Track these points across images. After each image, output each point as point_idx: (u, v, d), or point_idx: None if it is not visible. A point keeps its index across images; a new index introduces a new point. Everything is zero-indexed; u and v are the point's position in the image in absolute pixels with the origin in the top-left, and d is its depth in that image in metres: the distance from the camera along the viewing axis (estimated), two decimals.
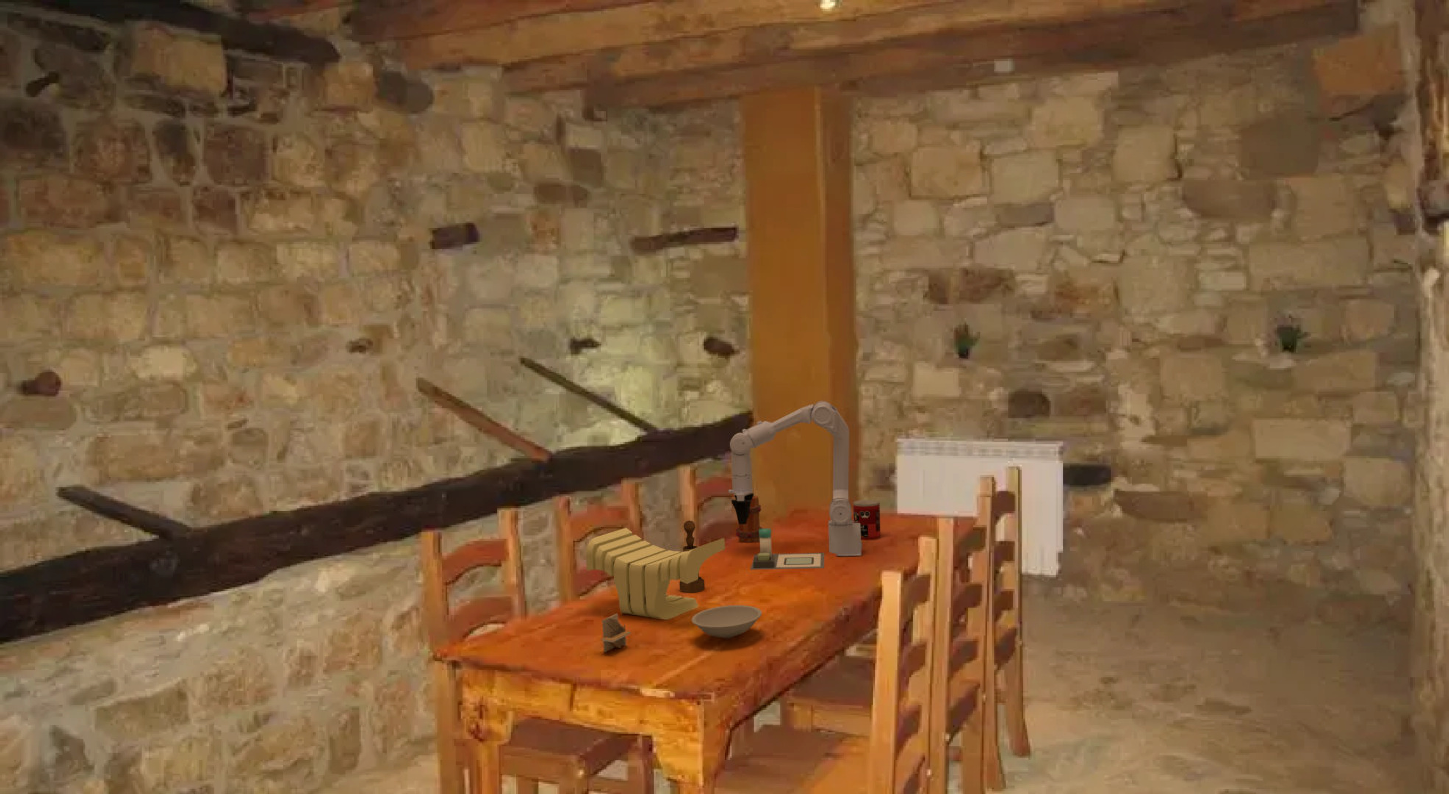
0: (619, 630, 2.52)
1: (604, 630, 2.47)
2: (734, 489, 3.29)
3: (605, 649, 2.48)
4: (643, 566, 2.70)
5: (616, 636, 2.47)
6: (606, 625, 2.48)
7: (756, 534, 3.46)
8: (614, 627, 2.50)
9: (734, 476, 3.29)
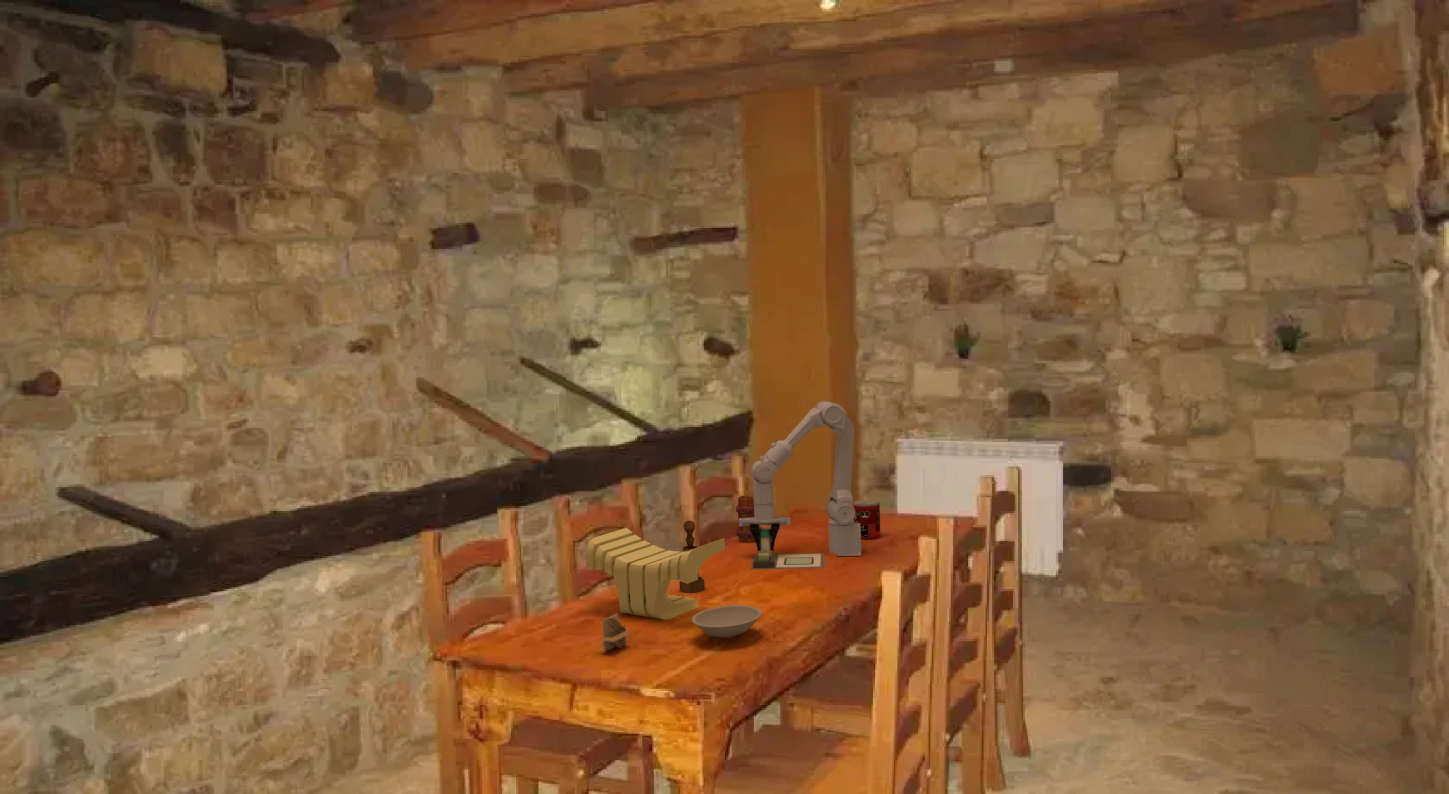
0: (619, 630, 2.52)
1: (605, 630, 2.47)
2: None
3: (605, 649, 2.48)
4: (643, 566, 2.70)
5: (616, 636, 2.47)
6: (606, 625, 2.48)
7: None
8: (614, 627, 2.51)
9: None
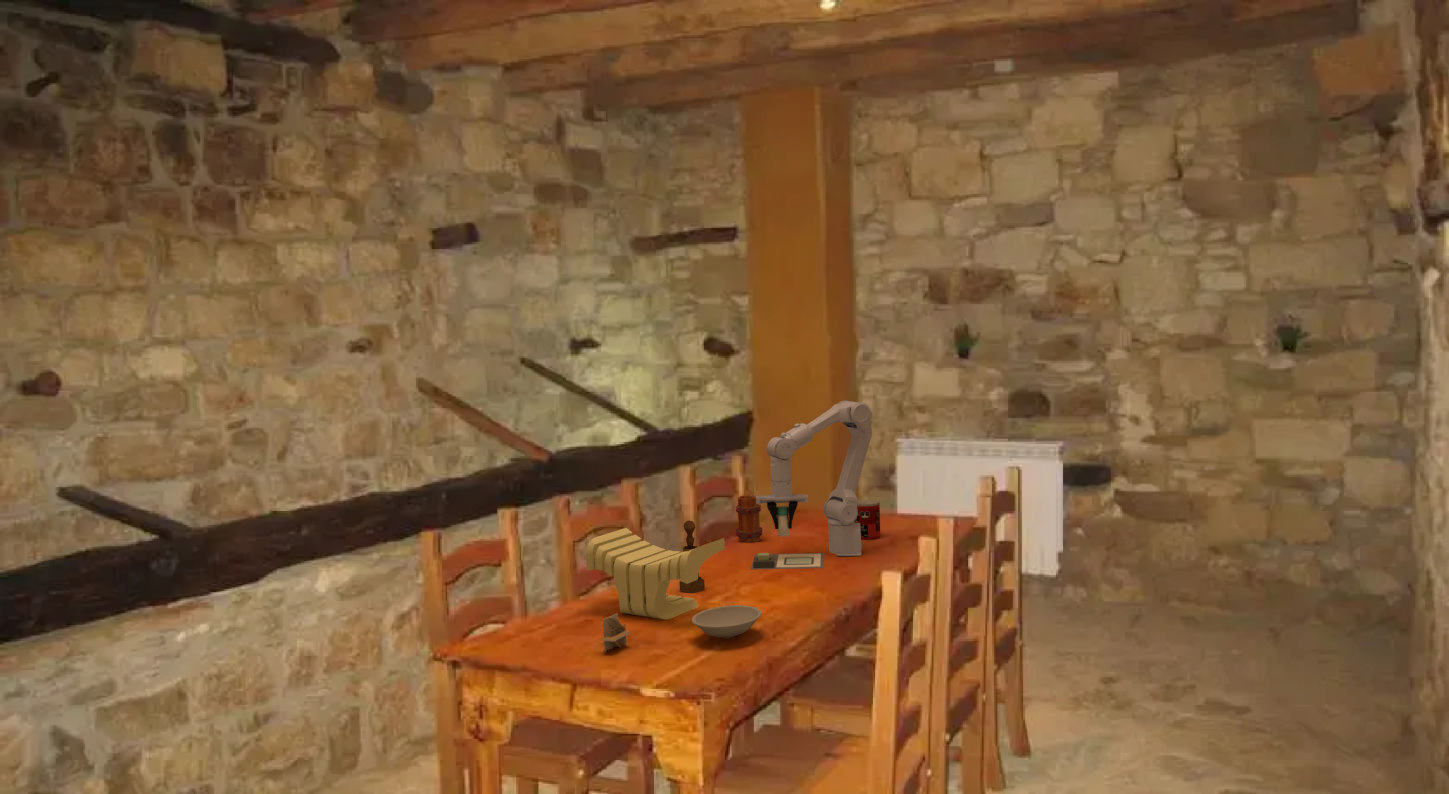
0: (619, 629, 2.52)
1: (605, 630, 2.48)
2: None
3: (606, 649, 2.48)
4: (643, 566, 2.70)
5: (617, 635, 2.48)
6: (607, 625, 2.48)
7: (756, 534, 3.46)
8: (614, 627, 2.51)
9: None
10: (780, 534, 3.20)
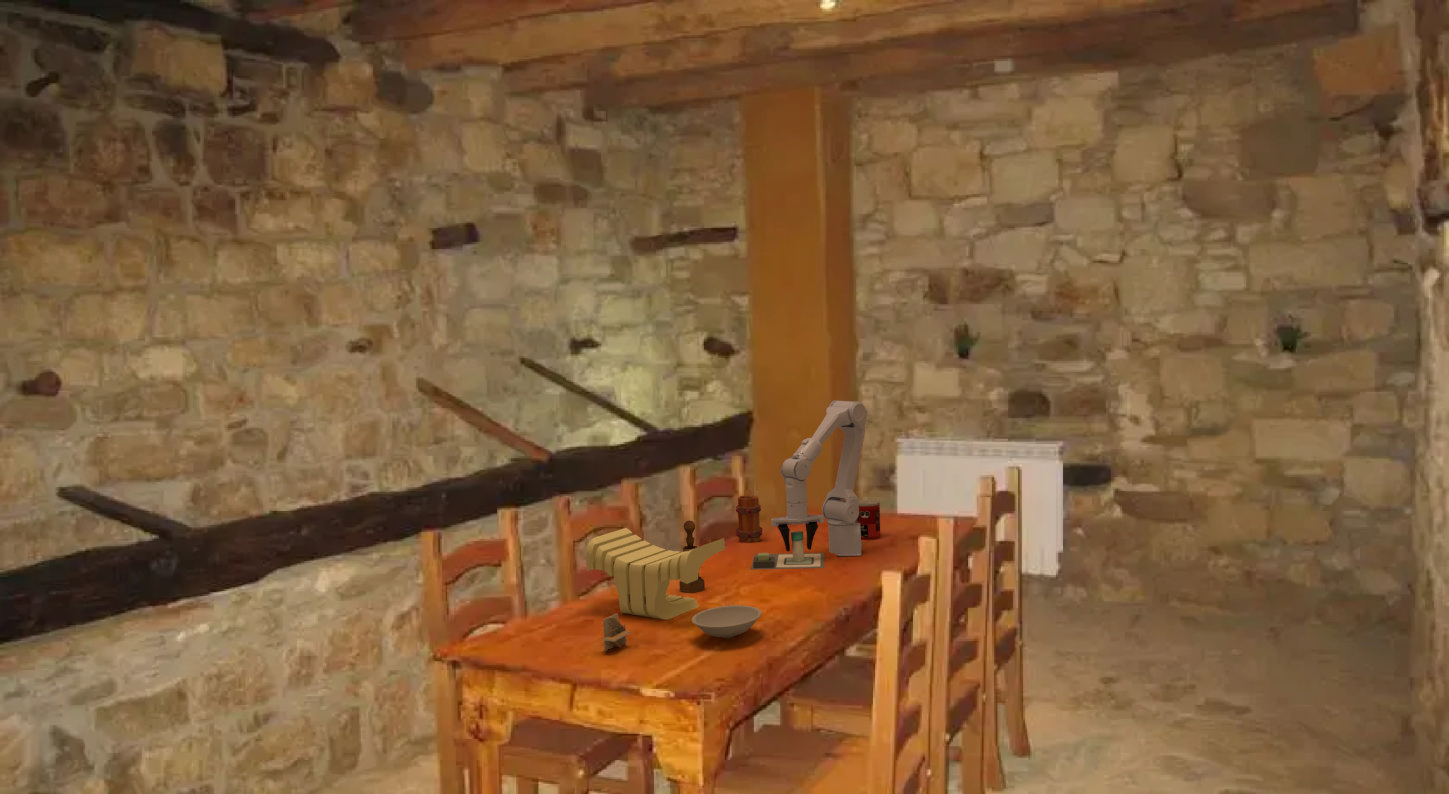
0: (619, 629, 2.52)
1: (605, 629, 2.48)
2: None
3: (606, 648, 2.48)
4: (643, 566, 2.70)
5: (617, 635, 2.48)
6: (607, 624, 2.48)
7: (756, 534, 3.46)
8: (614, 626, 2.51)
9: None
10: (797, 560, 3.18)
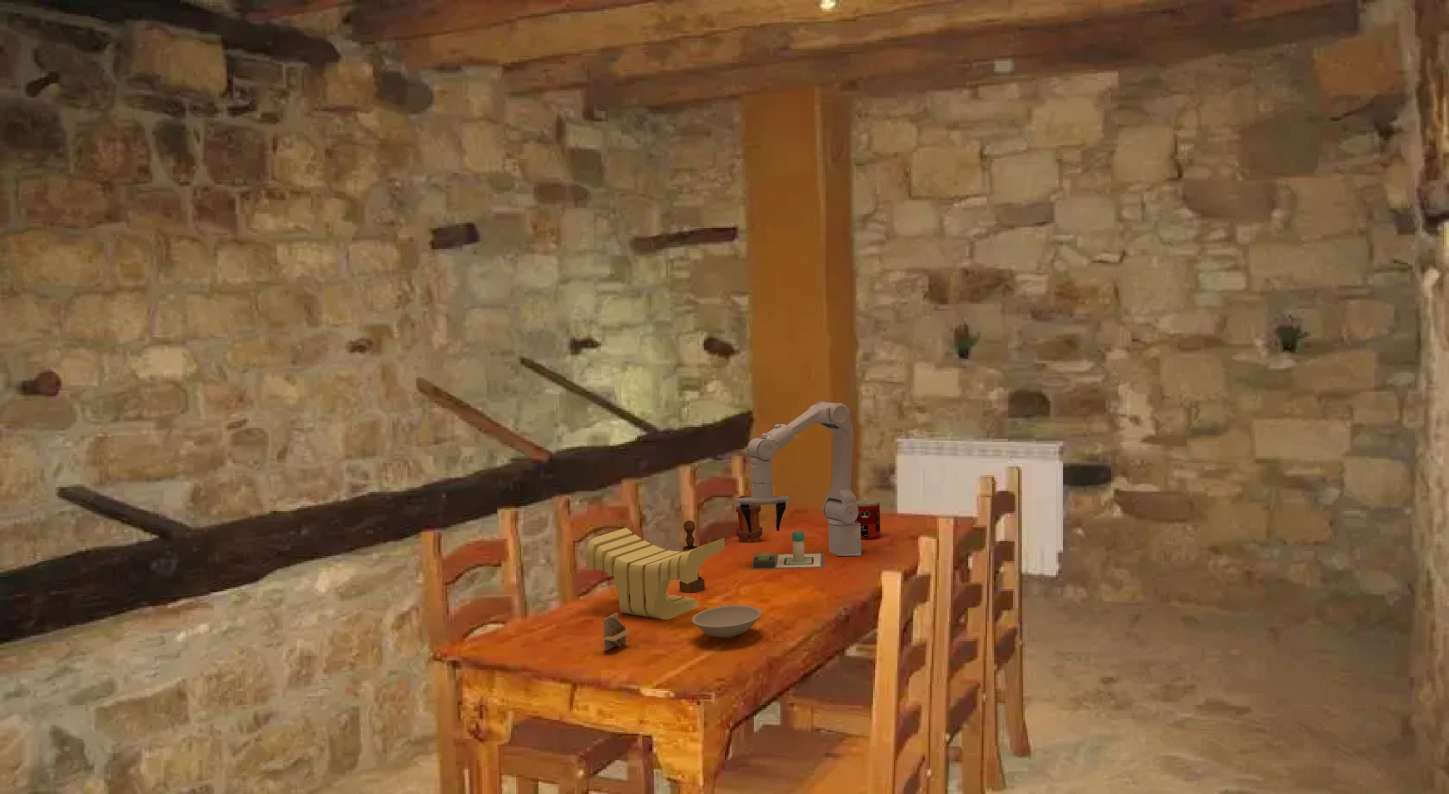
0: (619, 629, 2.52)
1: (605, 629, 2.48)
2: None
3: (606, 648, 2.48)
4: (643, 566, 2.70)
5: (617, 635, 2.48)
6: (607, 624, 2.49)
7: (756, 534, 3.46)
8: (614, 626, 2.51)
9: None
10: (797, 560, 3.18)
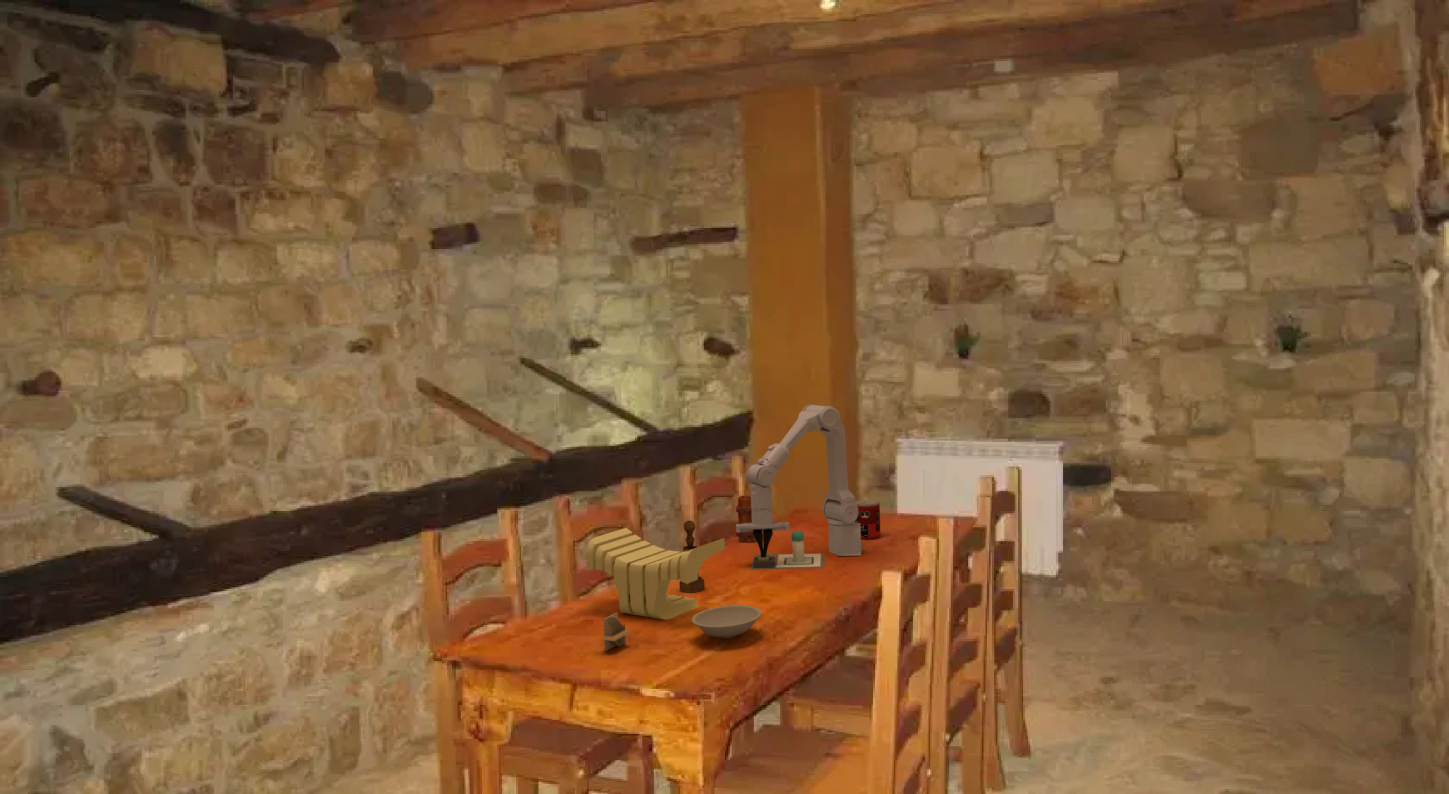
0: (619, 629, 2.53)
1: (605, 629, 2.48)
2: None
3: (606, 648, 2.49)
4: (643, 566, 2.70)
5: (617, 635, 2.48)
6: (607, 624, 2.49)
7: None
8: (614, 626, 2.51)
9: None
10: (797, 560, 3.18)
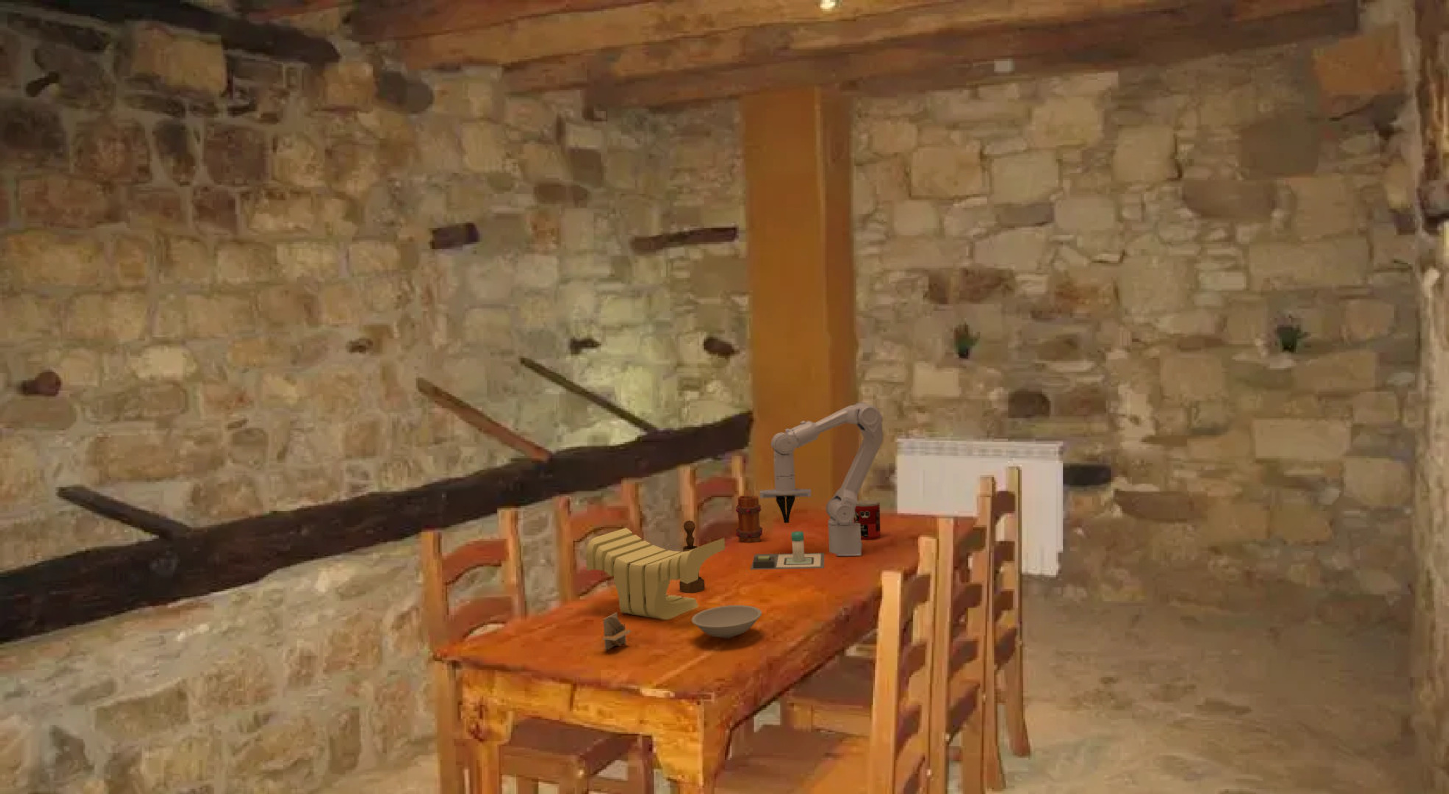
0: (619, 629, 2.53)
1: (605, 629, 2.48)
2: None
3: (606, 648, 2.49)
4: (643, 566, 2.70)
5: (617, 634, 2.48)
6: (607, 624, 2.49)
7: (756, 534, 3.46)
8: (614, 626, 2.52)
9: None
10: (797, 560, 3.18)
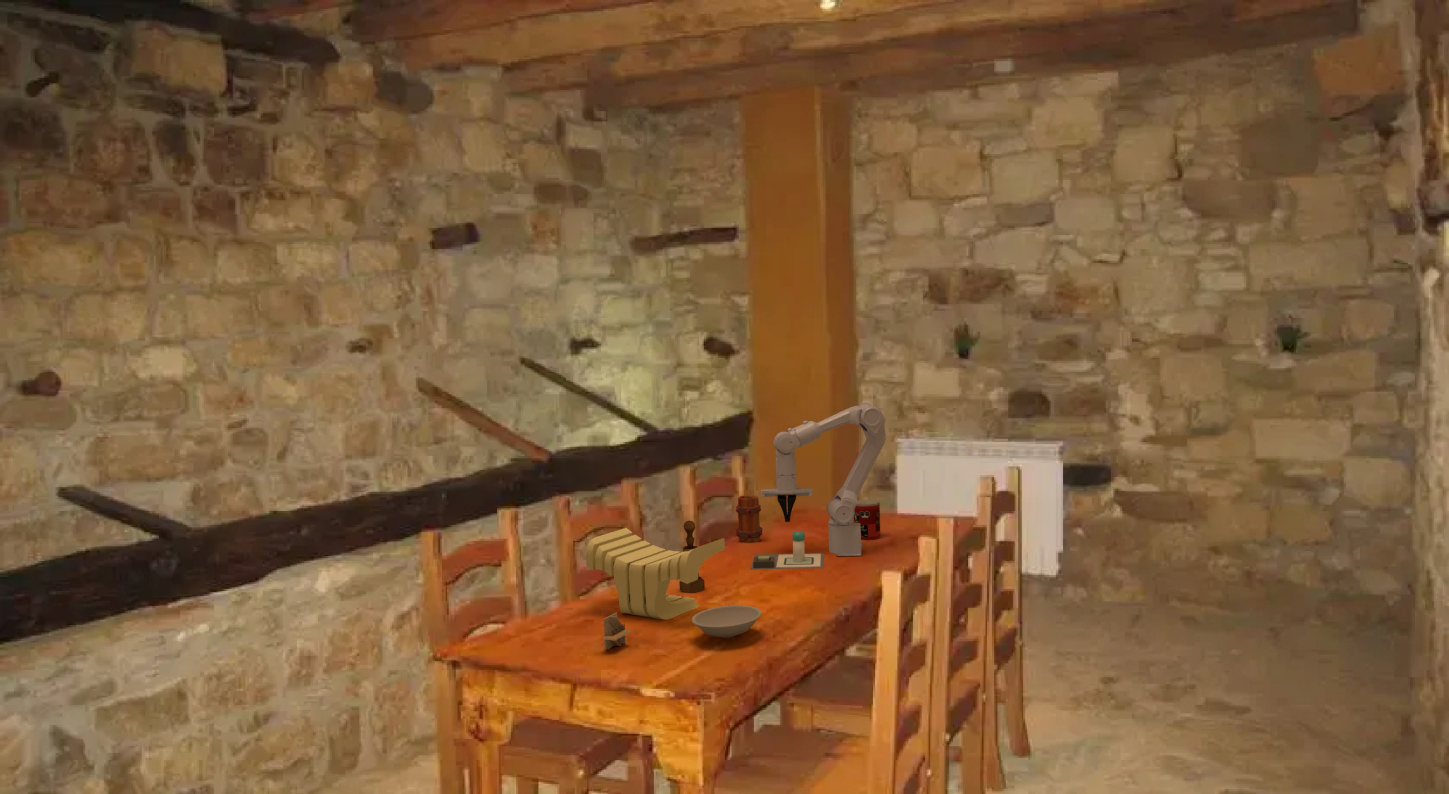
0: (618, 628, 2.53)
1: (605, 629, 2.48)
2: None
3: (606, 648, 2.49)
4: (643, 566, 2.70)
5: (617, 634, 2.49)
6: (607, 624, 2.49)
7: (756, 534, 3.46)
8: (614, 626, 2.52)
9: None
10: (797, 560, 3.18)
